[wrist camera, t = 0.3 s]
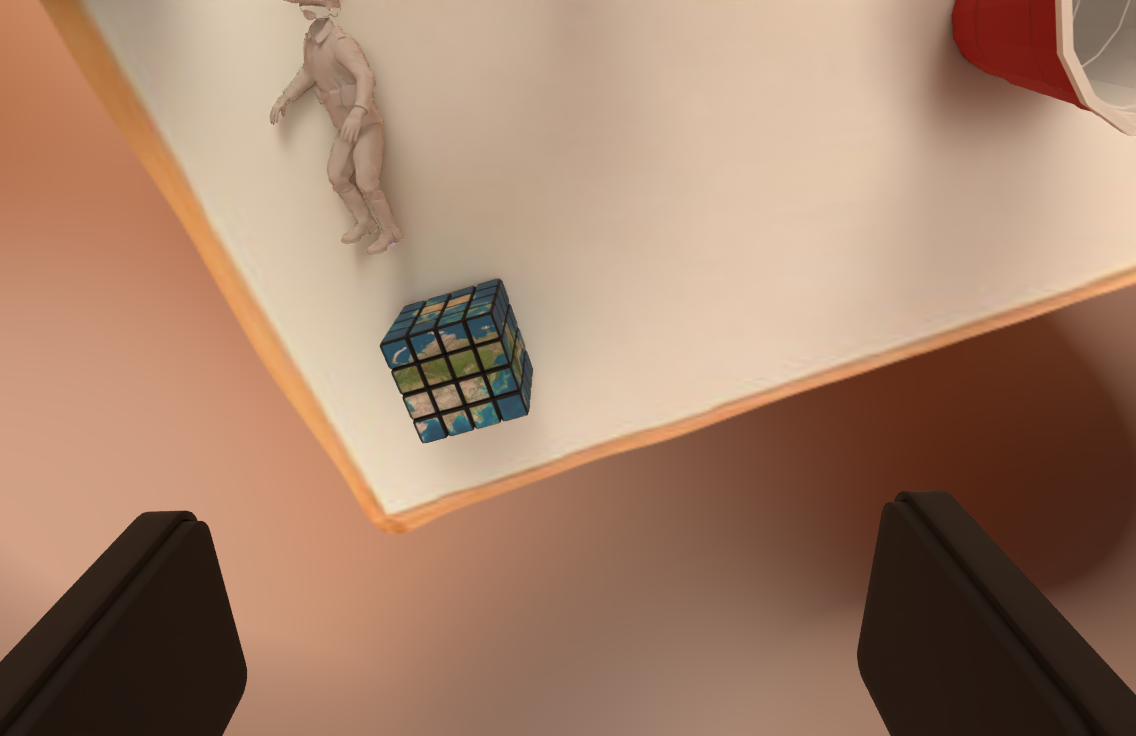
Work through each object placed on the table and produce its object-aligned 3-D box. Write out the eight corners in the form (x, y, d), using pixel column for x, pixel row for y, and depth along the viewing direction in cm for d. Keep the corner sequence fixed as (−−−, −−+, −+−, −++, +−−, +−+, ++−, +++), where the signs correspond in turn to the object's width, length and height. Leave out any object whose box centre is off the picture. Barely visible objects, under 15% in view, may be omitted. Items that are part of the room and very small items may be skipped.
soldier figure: (312, 233, 40) (196, 6, 32) (379, 192, 42) (286, -30, 34) (393, 267, 35) (280, 10, 27) (463, 218, 37) (378, -32, 29)
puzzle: (533, 370, 42) (530, 416, 36) (439, 396, 43) (421, 445, 37) (501, 277, 40) (491, 310, 34) (402, 306, 40) (377, 344, 35)
